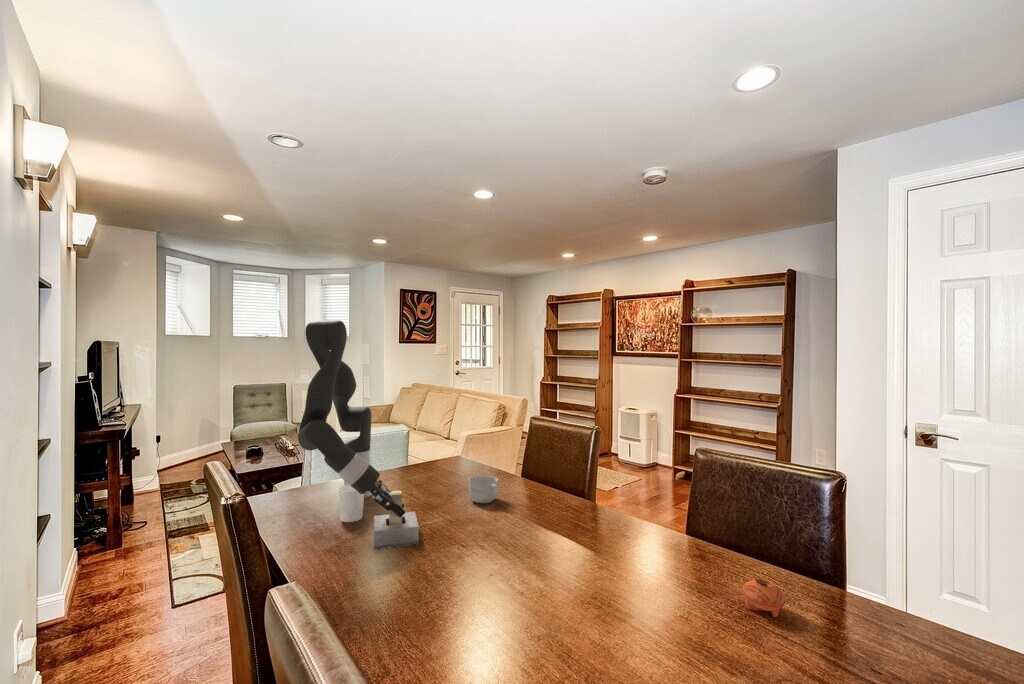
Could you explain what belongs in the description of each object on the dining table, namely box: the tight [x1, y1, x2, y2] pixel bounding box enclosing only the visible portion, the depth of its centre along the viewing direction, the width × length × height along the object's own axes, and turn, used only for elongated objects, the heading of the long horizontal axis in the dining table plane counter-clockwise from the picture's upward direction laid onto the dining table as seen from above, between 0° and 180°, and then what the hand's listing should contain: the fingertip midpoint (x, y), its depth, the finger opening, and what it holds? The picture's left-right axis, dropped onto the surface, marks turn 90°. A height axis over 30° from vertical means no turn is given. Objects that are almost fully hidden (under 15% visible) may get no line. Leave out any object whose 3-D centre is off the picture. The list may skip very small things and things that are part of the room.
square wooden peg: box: [388, 490, 403, 525], centre depth 131 cm, size 3×3×12 cm
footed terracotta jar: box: [741, 577, 786, 618], centre depth 95 cm, size 8×8×7 cm
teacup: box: [468, 475, 499, 504], centre depth 162 cm, size 14×11×8 cm
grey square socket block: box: [373, 511, 420, 550], centre depth 131 cm, size 12×12×5 cm
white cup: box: [338, 485, 365, 523], centre depth 147 cm, size 8×8×10 cm
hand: (402, 511), depth 132 cm, fingers open, 4 cm apart
